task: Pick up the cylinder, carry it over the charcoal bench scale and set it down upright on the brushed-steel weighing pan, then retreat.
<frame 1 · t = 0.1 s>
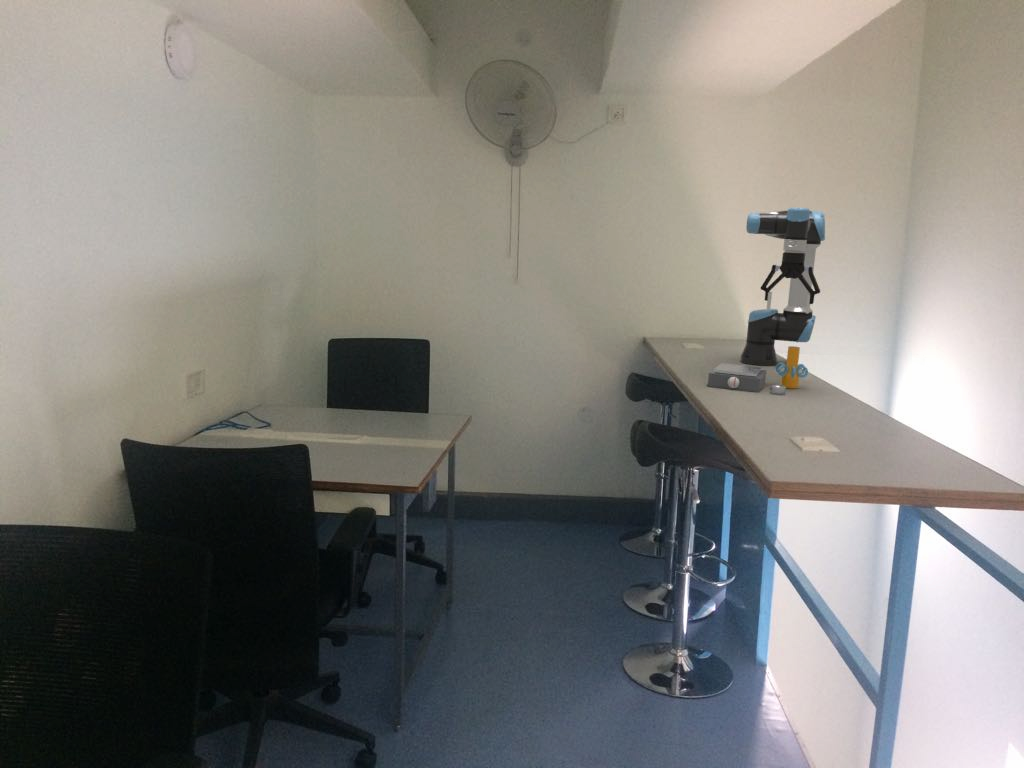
hand: (787, 311, 271), 28 cm above the table, fingers open, 13 cm apart
pan: (737, 375, 277), point 4 cm above the table, slide at 1.2 cm
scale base: (736, 384, 277), on the table
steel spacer: (777, 393, 265), on the table
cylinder: (789, 387, 276), on the table
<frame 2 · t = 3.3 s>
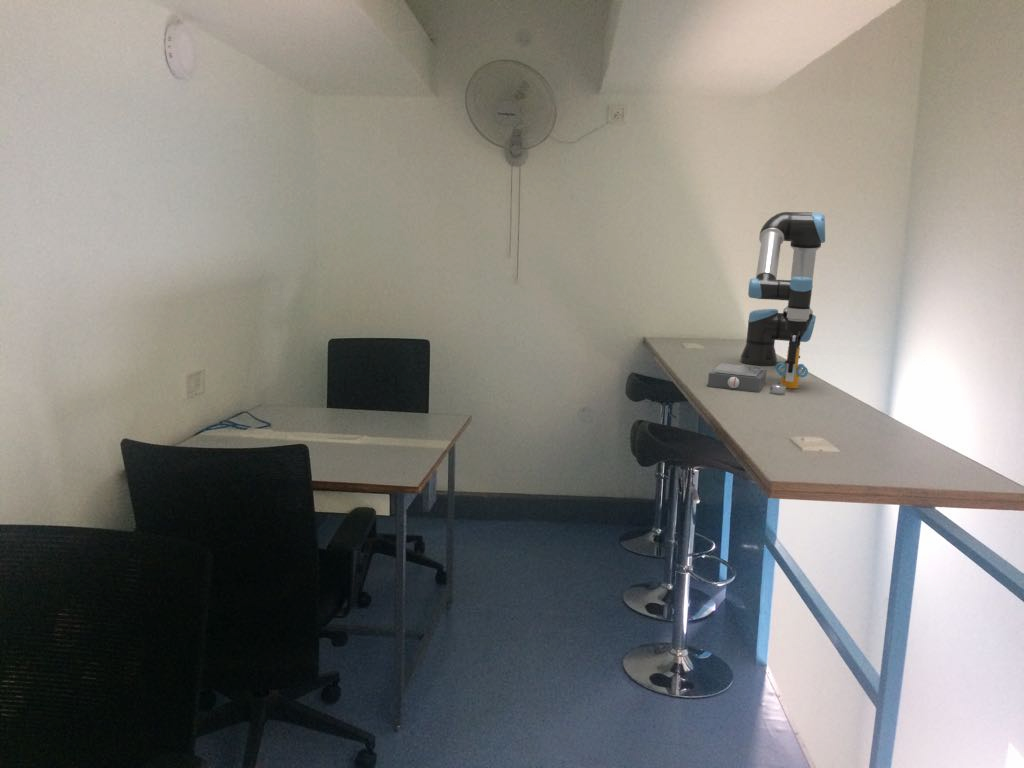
hand: (790, 378, 276), 3 cm above the table, fingers closed on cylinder, 12 cm apart
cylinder: (789, 387, 276), on the table, touching gripper
everything else where it was.
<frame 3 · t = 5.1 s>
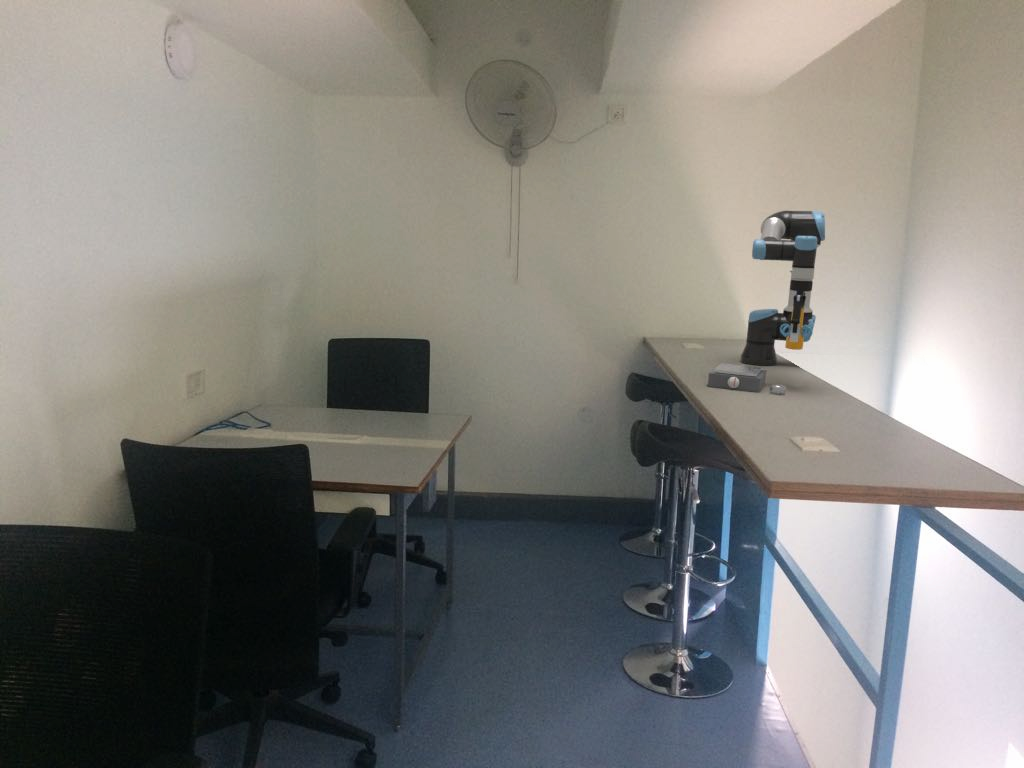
hand: (795, 339, 273), 18 cm above the table, fingers closed on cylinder, 12 cm apart
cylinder: (794, 349, 274), point 14 cm above the table, touching gripper
everything else where it was.
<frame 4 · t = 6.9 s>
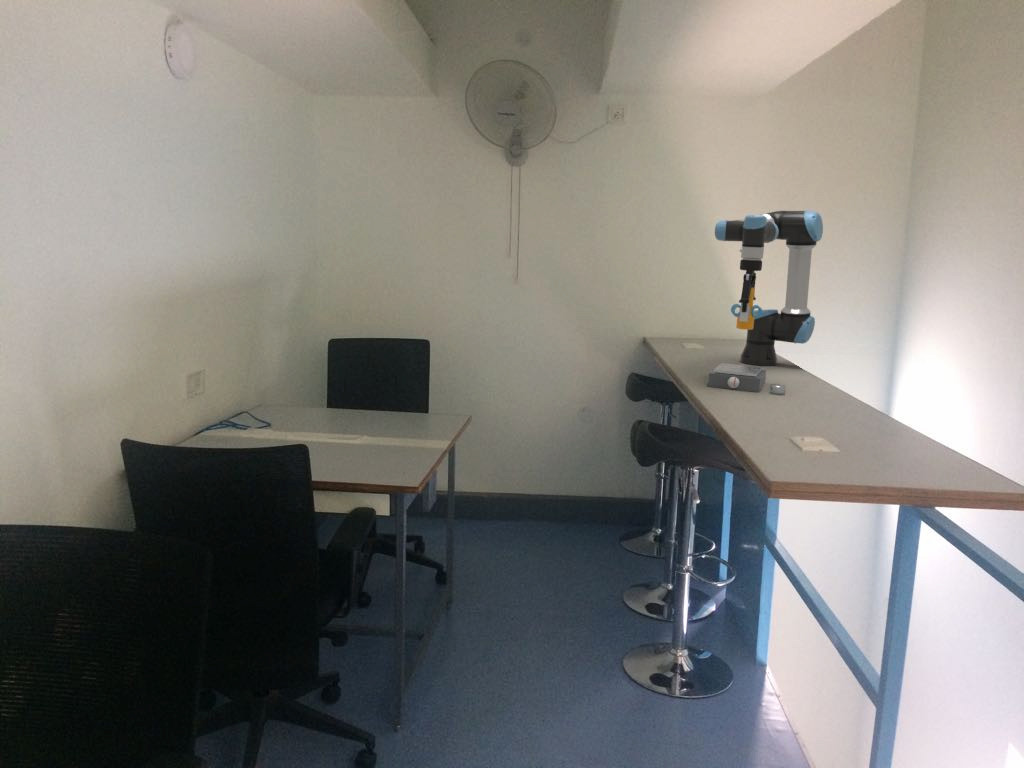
hand: (745, 319, 272), 24 cm above the table, fingers closed on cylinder, 12 cm apart
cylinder: (744, 329, 273), point 21 cm above the table, touching gripper
everything else where it was.
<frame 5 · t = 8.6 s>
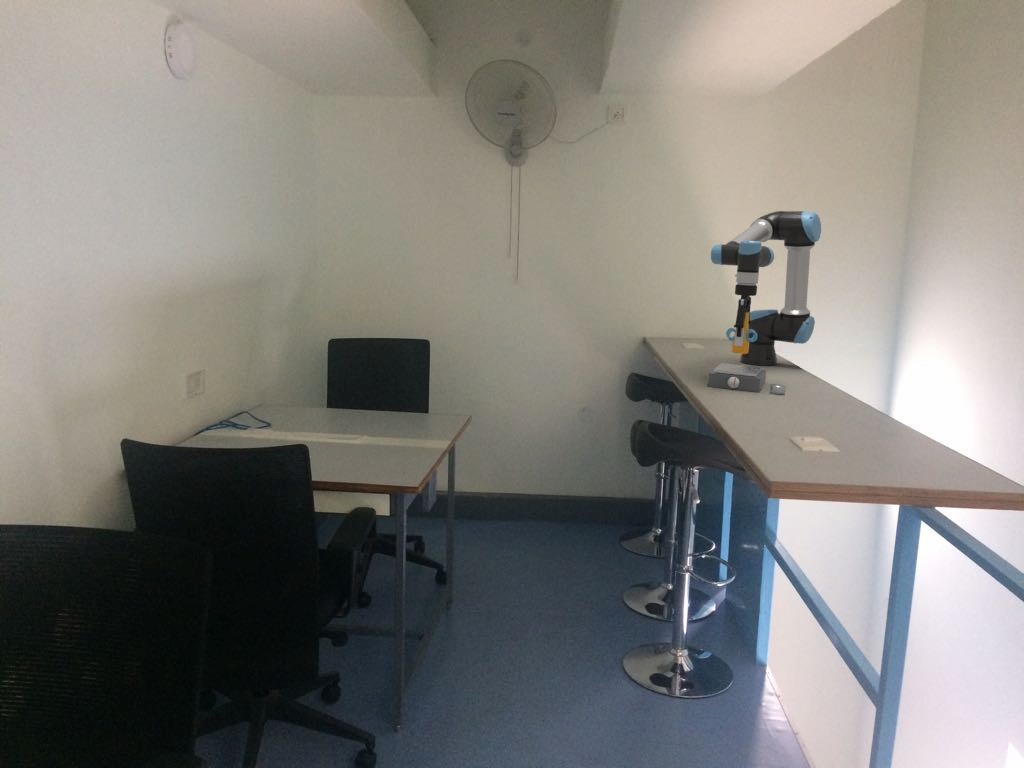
hand: (740, 343, 274), 15 cm above the table, fingers closed on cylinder, 12 cm apart
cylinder: (739, 353, 275), point 12 cm above the table, touching gripper
everything else where it was.
when the fingers open (12 cm above the table, at t = 10.3 s): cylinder drops 3 cm, resting on pan.
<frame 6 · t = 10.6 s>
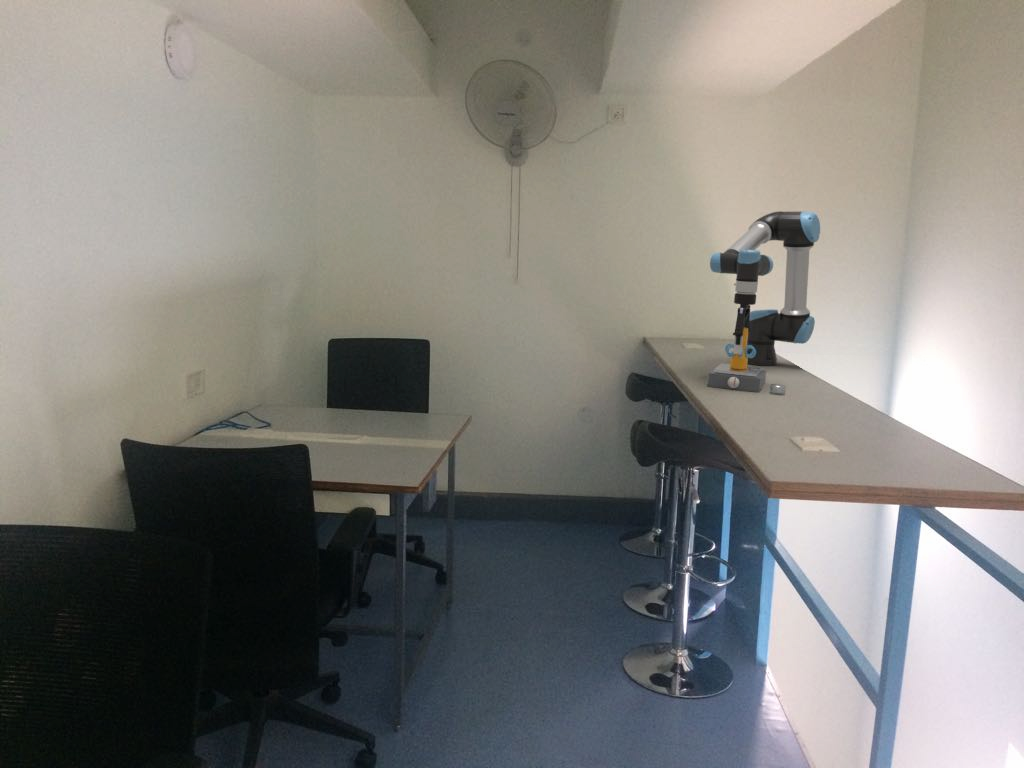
hand: (740, 351, 275), 13 cm above the table, fingers open, 13 cm apart
pan: (737, 375, 277), point 4 cm above the table, slide at 1.3 cm, touching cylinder
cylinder: (738, 368, 276), point 6 cm above the table, touching pan
everything else where it was.
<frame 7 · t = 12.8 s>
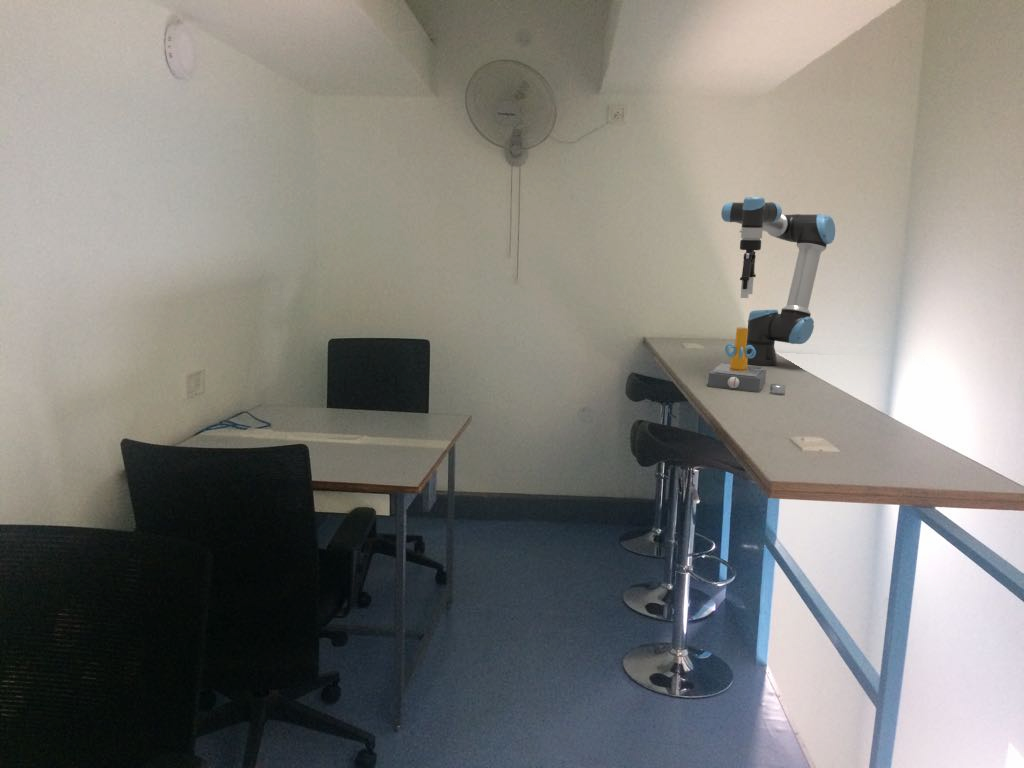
hand: (746, 296, 285), 32 cm above the table, fingers open, 13 cm apart
nothing on the table moved.
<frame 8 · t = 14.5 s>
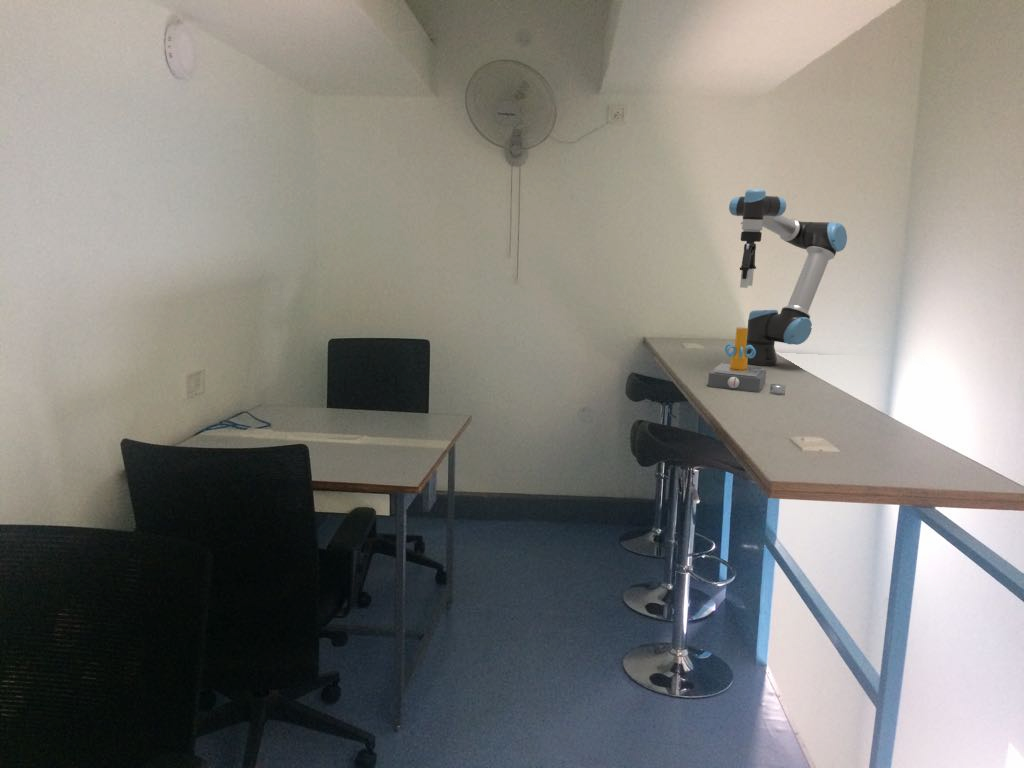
hand: (746, 286, 292), 35 cm above the table, fingers open, 13 cm apart
nothing on the table moved.
at the end: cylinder inside the target area on the pan (0.1 cm from its centre), point 7.3 cm above the pan's base; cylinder tilted 0°; the gripper is holding nothing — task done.
